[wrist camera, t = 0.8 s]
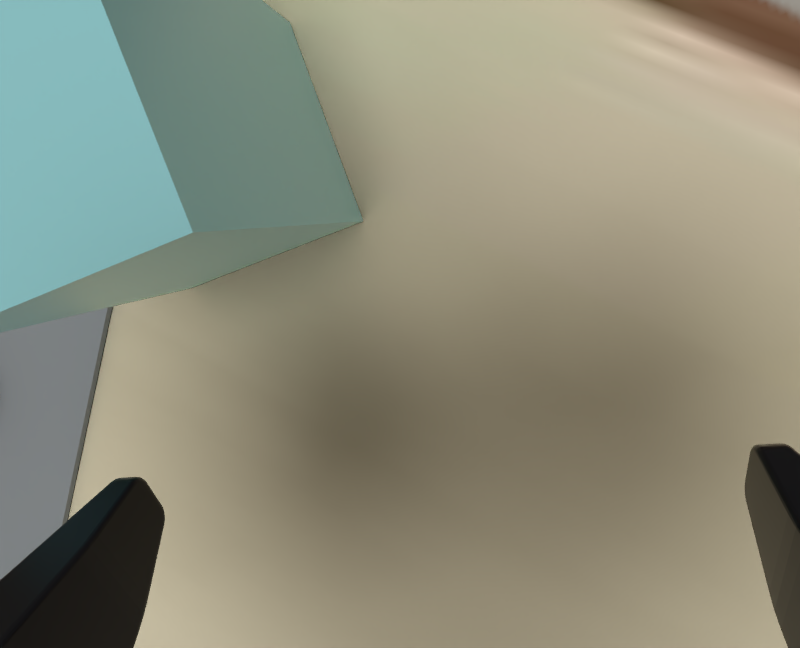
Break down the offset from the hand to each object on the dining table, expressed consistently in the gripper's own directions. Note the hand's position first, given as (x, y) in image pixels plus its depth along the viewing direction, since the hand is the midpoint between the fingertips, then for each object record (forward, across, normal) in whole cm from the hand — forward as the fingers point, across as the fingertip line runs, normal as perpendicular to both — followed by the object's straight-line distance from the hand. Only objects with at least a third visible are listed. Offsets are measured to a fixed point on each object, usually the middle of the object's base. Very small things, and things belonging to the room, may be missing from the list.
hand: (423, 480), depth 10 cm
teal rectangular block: (+15, +8, 0) cm, 17 cm away
